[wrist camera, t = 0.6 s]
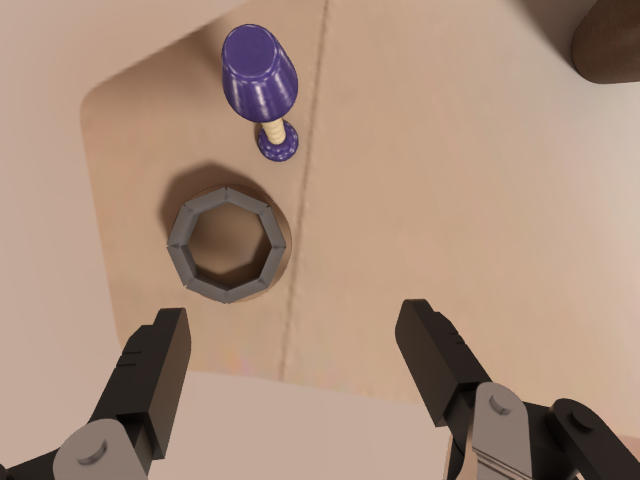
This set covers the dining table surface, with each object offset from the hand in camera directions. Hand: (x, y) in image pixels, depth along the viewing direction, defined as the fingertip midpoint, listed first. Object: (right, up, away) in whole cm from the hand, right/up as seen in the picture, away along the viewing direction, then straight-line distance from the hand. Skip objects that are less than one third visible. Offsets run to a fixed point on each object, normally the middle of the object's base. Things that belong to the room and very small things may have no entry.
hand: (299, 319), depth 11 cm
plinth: (-8, +3, +21) cm, 23 cm away
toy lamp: (-4, +14, +21) cm, 25 cm away
